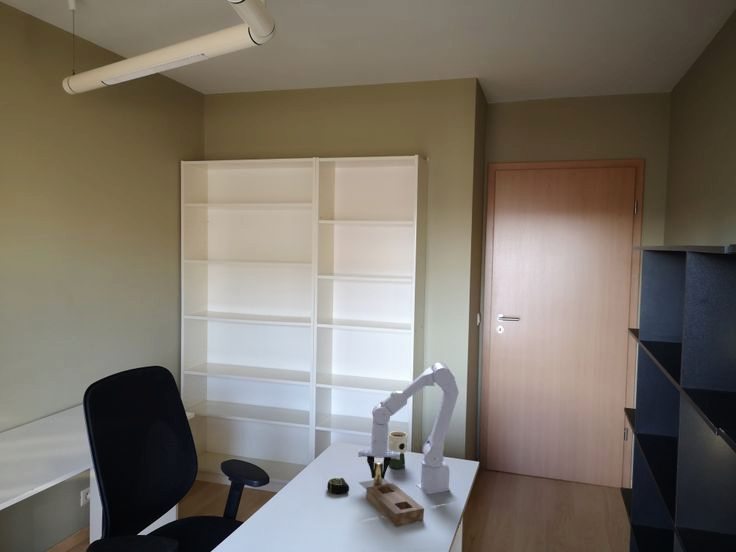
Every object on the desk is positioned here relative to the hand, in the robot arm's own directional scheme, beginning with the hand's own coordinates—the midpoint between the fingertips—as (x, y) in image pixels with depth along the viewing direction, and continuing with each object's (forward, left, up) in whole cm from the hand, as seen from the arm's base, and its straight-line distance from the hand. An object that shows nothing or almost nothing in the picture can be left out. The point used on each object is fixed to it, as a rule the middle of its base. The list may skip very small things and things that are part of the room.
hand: (378, 477), depth 203 cm
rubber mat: (0, 0, -3) cm, 3 cm away
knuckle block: (+3, +17, -3) cm, 18 cm away
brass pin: (0, 0, -3) cm, 3 cm away
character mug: (-15, -13, -4) cm, 20 cm away
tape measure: (+14, -2, -4) cm, 15 cm away
